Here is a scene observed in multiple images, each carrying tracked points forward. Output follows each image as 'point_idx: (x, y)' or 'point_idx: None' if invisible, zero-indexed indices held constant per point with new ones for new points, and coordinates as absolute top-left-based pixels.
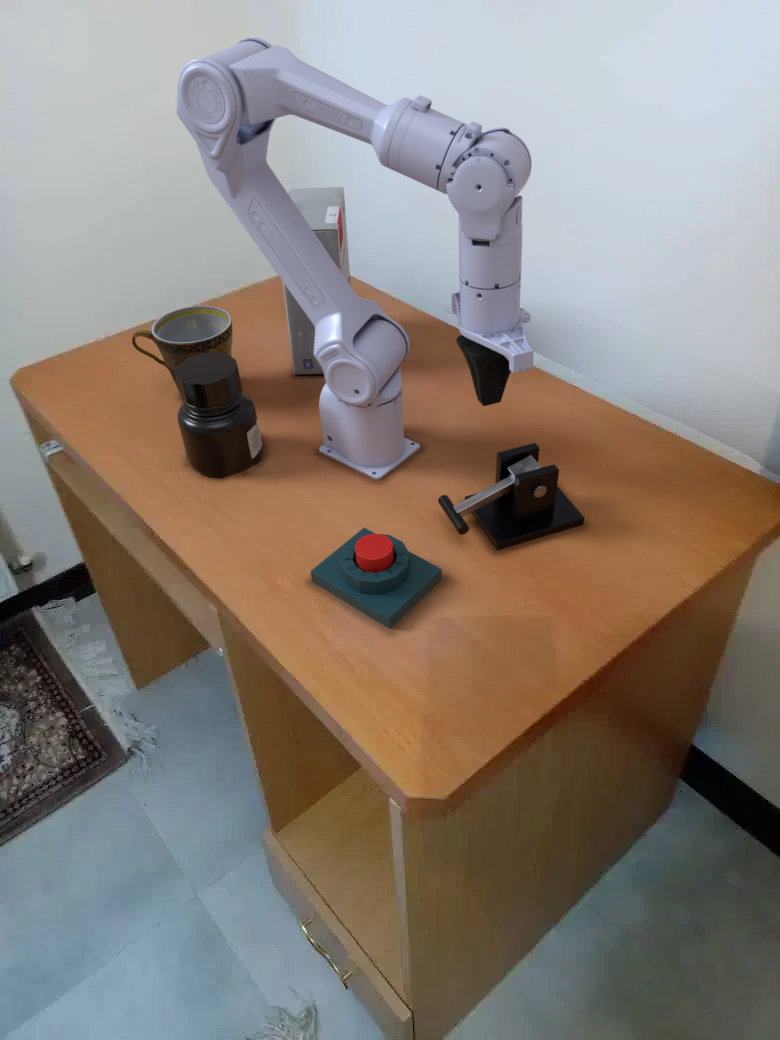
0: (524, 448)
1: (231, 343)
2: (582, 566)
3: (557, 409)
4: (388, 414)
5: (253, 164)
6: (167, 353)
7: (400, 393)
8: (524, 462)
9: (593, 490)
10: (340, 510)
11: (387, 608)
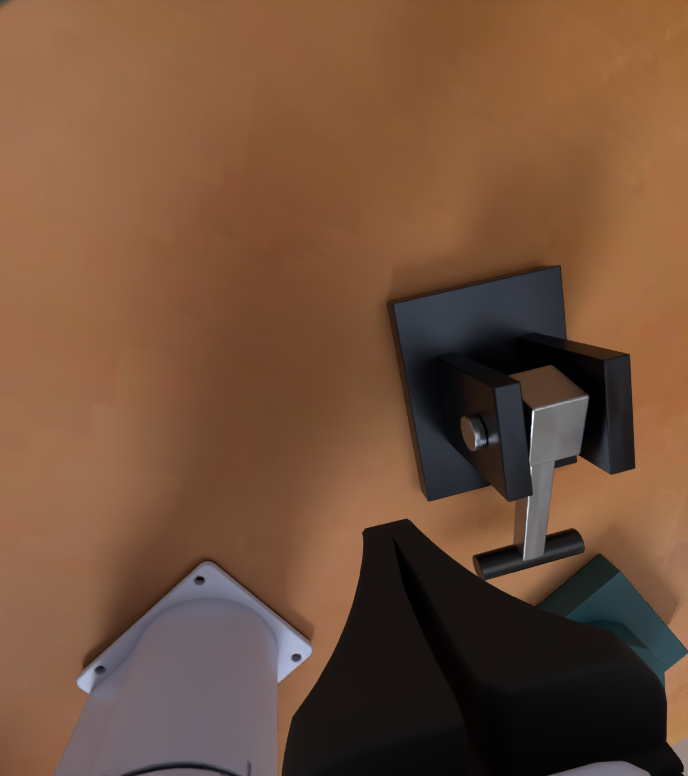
0: (513, 426)
1: None
2: (645, 305)
3: (53, 163)
4: (265, 754)
5: None
6: None
7: (213, 765)
8: (545, 429)
9: (439, 196)
10: None
11: (670, 653)
